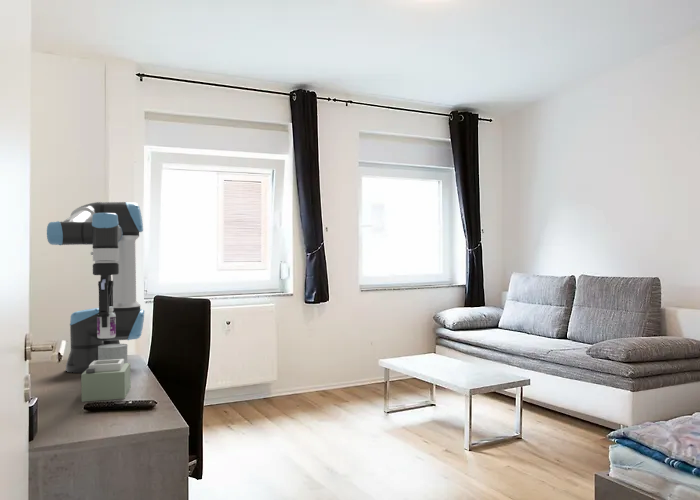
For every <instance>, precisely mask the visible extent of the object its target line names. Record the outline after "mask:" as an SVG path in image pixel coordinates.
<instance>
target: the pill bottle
mask: <svg viewBox="0 0 700 500" xmlns="http://www.w3.org/2000/svg"><path fill="white" fill-rule="evenodd" d="M112 311H113V307H112V306H109V317H110V338H114V337H115V336H116V315H115V314H114V313H113V312H112ZM98 315H99V314H98ZM97 337H98V338H100V317H97ZM100 339H104V338H100ZM105 339H106V338H105Z"/></svg>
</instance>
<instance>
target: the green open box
mask: <svg viewBox="0 0 700 500" xmlns="http://www.w3.org/2000/svg"><path fill="white" fill-rule="evenodd" d="M80 374H81V375H80V376H81V381H80V383H81V385H80V386H81V389H80V390H81V402H83V403H84V402H94V401H95V402H96V401H97V402H98V401H108V400H109V401H110V400H122V399H123V400H124V399H126V397H127V396H128V394H129V391H130V389H131V387H132V386H131V383H132V382H131V381H132V380H131V362H128V363H124V359H113V360H96V361H93V362H92V363H91V364H90V365H89V368H88V369H86V370H85V371H84V372H82V373H80Z"/></svg>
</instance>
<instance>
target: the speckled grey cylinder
mask: <svg viewBox="0 0 700 500" xmlns="http://www.w3.org/2000/svg"><path fill="white" fill-rule="evenodd" d="M128 346H129V345H128V344H127V343H120V344H107V345H101V346H98V360H113V359H124V363H129V362H128V361H129V360H128Z"/></svg>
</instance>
